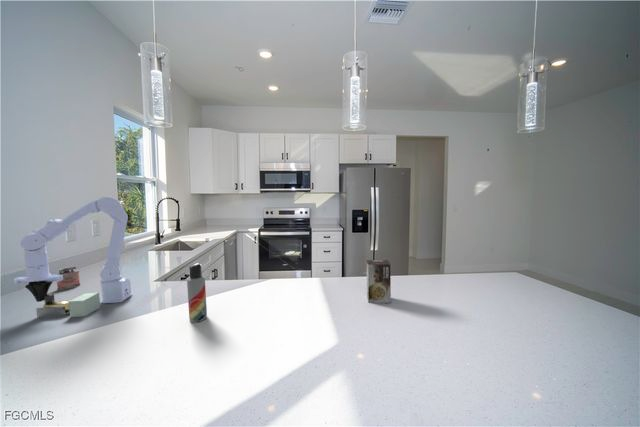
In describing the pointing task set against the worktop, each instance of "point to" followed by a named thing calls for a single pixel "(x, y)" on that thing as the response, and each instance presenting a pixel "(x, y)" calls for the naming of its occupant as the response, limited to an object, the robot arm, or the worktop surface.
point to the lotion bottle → (196, 294)
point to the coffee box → (378, 281)
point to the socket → (84, 304)
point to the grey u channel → (52, 312)
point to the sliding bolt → (51, 302)
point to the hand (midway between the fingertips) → (41, 300)
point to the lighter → (68, 278)
